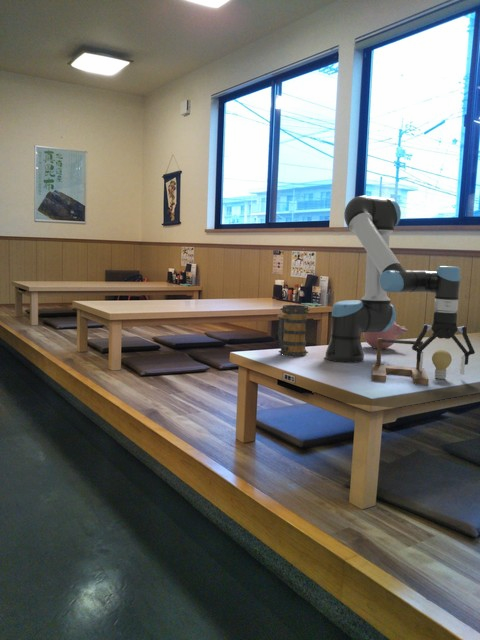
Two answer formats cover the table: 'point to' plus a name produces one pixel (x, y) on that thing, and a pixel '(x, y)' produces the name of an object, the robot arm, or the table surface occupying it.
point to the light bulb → (441, 363)
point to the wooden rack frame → (381, 370)
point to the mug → (293, 330)
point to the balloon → (384, 335)
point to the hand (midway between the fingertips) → (441, 372)
